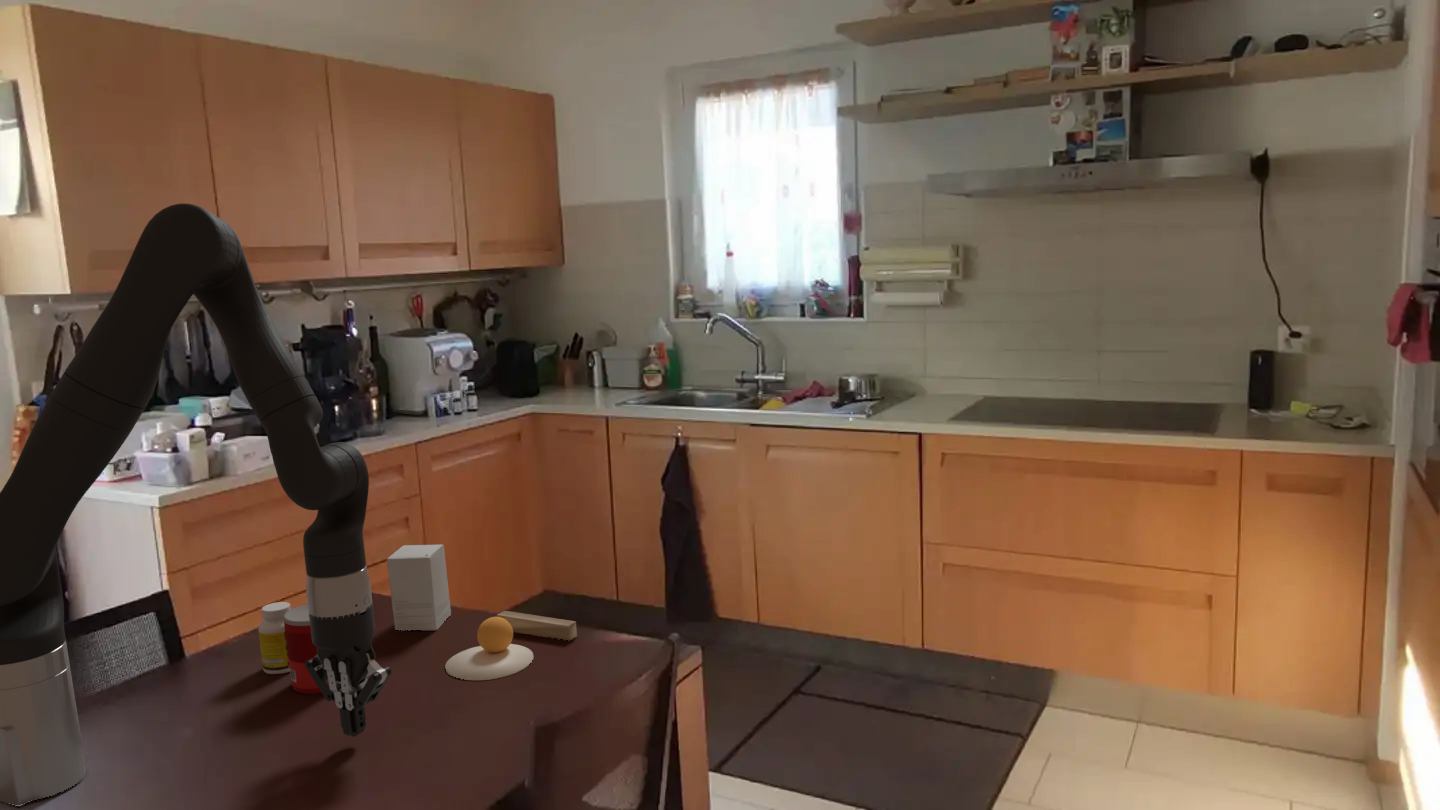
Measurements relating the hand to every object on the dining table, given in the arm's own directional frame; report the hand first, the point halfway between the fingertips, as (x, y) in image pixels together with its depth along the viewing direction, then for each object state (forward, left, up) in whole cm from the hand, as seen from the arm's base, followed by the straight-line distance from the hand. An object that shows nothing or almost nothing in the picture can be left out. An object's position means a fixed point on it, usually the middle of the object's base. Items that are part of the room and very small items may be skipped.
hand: (354, 733), depth 133 cm
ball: (+31, +2, +1) cm, 31 cm away
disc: (+27, 0, -2) cm, 27 cm away
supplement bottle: (+14, +29, -2) cm, 32 cm away
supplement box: (+36, +21, -2) cm, 42 cm away
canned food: (+12, +19, -2) cm, 23 cm away
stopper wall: (+39, 0, -2) cm, 39 cm away
